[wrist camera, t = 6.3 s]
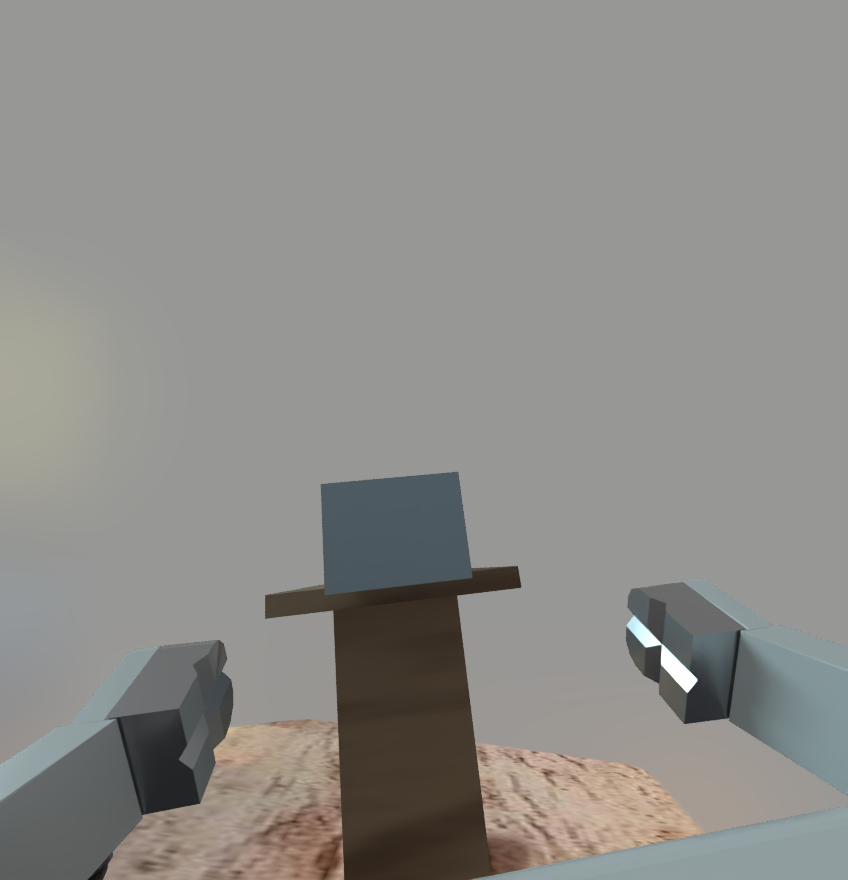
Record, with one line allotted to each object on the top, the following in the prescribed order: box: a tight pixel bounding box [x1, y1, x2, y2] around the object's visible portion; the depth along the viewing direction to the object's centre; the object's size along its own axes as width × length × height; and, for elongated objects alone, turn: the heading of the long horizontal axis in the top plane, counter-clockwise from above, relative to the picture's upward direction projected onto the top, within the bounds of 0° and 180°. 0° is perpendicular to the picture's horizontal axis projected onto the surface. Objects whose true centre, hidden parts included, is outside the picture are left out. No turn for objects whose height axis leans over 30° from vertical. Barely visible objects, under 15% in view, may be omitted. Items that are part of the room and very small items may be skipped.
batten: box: [321, 472, 472, 595], centre depth 23 cm, size 24×4×3 cm, turn 4°
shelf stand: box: [265, 566, 521, 880], centre depth 24 cm, size 17×14×26 cm
